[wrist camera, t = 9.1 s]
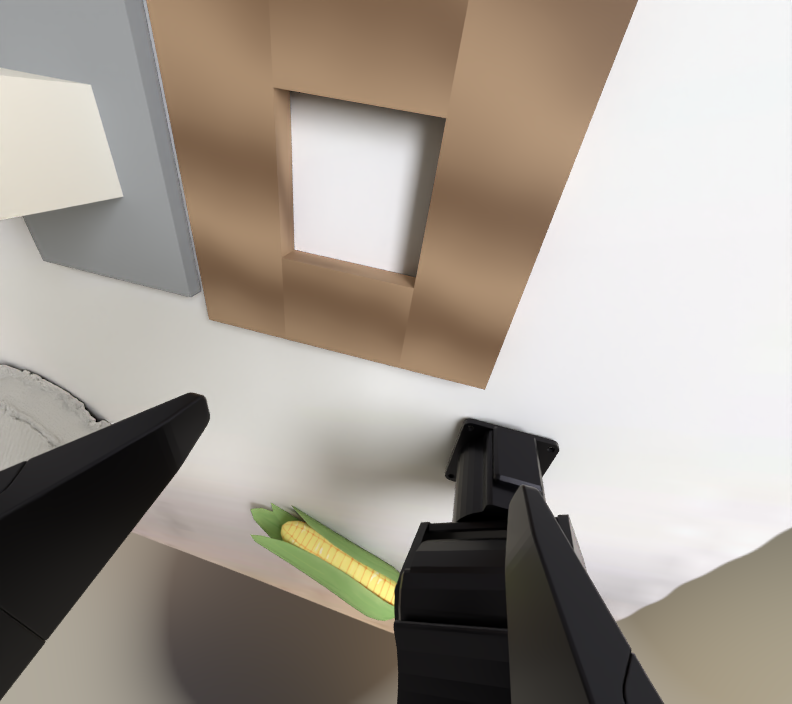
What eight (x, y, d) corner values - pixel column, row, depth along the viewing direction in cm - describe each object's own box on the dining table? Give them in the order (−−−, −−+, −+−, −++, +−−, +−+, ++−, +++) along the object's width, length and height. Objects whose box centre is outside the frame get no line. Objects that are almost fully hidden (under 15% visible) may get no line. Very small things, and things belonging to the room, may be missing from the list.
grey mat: (201, 291, 23) (190, 297, 22) (58, 256, 24) (43, 260, 23) (128, -72, 14) (105, -84, 13) (-98, -102, 15) (-132, -115, 14)
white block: (123, 196, 19) (-1, 220, 14) (46, 179, 20) (-100, 196, 15) (90, 84, 16) (-79, 67, 11) (1, 67, 17) (-199, 43, 12)
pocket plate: (484, 374, 22) (484, 389, 20) (223, 309, 23) (209, 319, 22) (645, -47, 11) (664, -67, 10) (154, -107, 13) (120, -131, 12)
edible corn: (385, 629, 38) (407, 638, 34) (232, 534, 34) (239, 533, 31) (403, 578, 41) (425, 582, 38) (265, 487, 38) (274, 481, 34)
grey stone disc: (168, 498, 43) (121, 554, 37) (38, 471, 46) (-23, 518, 40) (93, 368, 32) (10, 419, 26) (-71, 343, 35) (-177, 384, 29)
